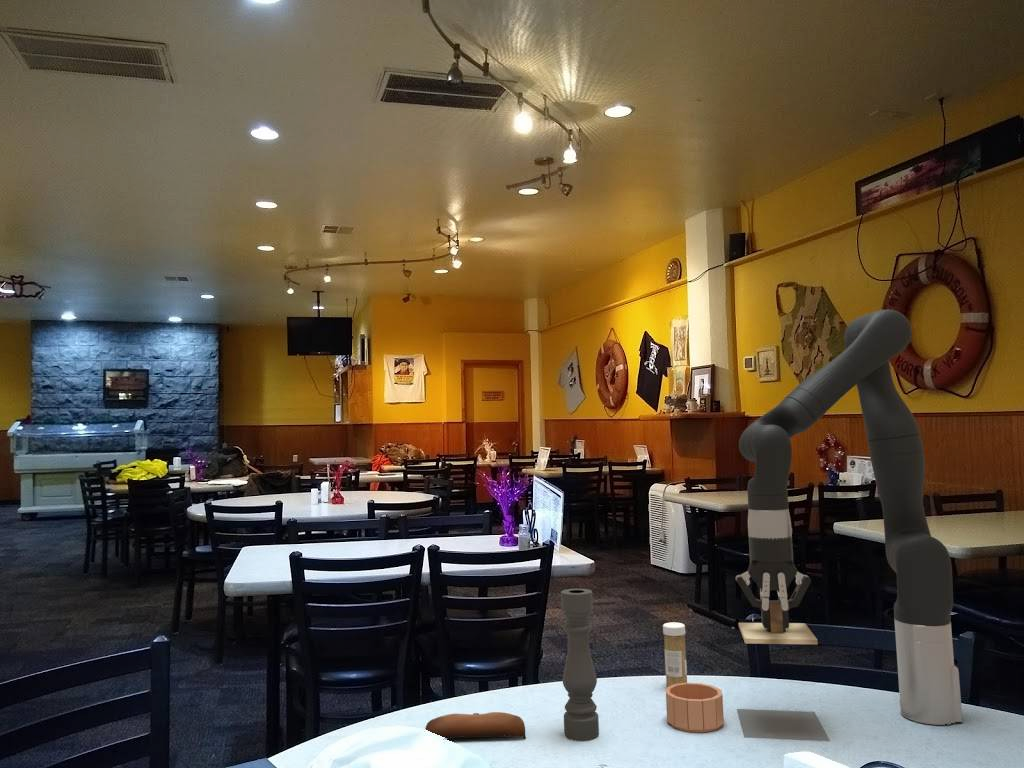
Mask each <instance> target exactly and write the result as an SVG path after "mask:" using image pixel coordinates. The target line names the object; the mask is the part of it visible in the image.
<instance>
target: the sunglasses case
mask: <svg viewBox="0 0 1024 768" xmlns="http://www.w3.org/2000/svg"><path fill="white" fill-rule="evenodd" d="M424 729H426V730H428V731H430V732H432V733H435V734H437V735H440V736H442V737H445V738H448V739H447V740H450V739H458V738H483V737H488V738H489V737H490V738H500V737H501V738H502V737H518V738H519V737H521V738H522V737H523V739H525V738H526V739H527V737H526V726H525V723H524V720H523V719H522V718H521V717H520V716H519V715H516V714H512V713H508V712H501V711H493V712H487V713H479V712H474V713H472V714H469V713H451V714H445V715H441V716H438V717H436V718H435V717H434V718H432V719H431V720H429V721H428V722H427V723H426V725H425V727H424Z"/></svg>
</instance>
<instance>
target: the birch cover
mask: <svg viewBox="0 0 1024 768" xmlns="http://www.w3.org/2000/svg"><path fill="white" fill-rule="evenodd" d="M769 611H770V625H771V632H770V631H767V630H766V628H764V627H763V624H762V622H738V629H739V631H740V634H741V636H742V638H743V641H744V643H745V644H753V645H754V644H755V645H756V644H760V645H761V644H762V645H770V644H771V645H772V644H773V645H818V644H819V643H818V639H817V637H816V636H815V634H814V633H813V632H812V631H811V629H810V628H809V627H808V625H807V623H804V622H803V623H802V622H800V623H799V622H789V628H786V632H783V619H782V605H781V604H780V602H779V599H777V600H776V599H775V600H770V599H769Z"/></svg>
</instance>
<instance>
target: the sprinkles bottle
mask: <svg viewBox="0 0 1024 768" xmlns="http://www.w3.org/2000/svg"><path fill="white" fill-rule="evenodd" d="M662 633H663V640H664V643H663V644H664V665H665V667H664V668H665V669H664V670H665V681H666V682H665V683H666V687H665V689H666V688H667V687H669V686H671V685H673V684H680V683H688V670H687V669H688V668H687V666H688V665H687V654H686V653H687V652H686V638H685V637H686V625H685V624H684V623H681V622H676V621H675V622H674V621H673V622H666V623H663V625H662Z"/></svg>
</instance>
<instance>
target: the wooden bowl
mask: <svg viewBox="0 0 1024 768" xmlns="http://www.w3.org/2000/svg"><path fill="white" fill-rule="evenodd" d="M723 698H724V697H723V691H722V689H720V688H718V687H717V686H715V685H712V684H711V685H710V684H706V683H702V682H687V683H680V684H673V685H671V686H669V687H667V688H666V687H665V702H666V704H665V705H666V708H665V709H666V721H667V722H668V723H669V725H670V726H672V727H673V728H675V729H678V730H681V731H683V732H688V733H689V732H690V733H710V732H713V731H716V730H718V729H720V728H721V726H723V725H725V722H724V721H725V719H724V716H725V715H724V702H723V701H724V700H723Z"/></svg>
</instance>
